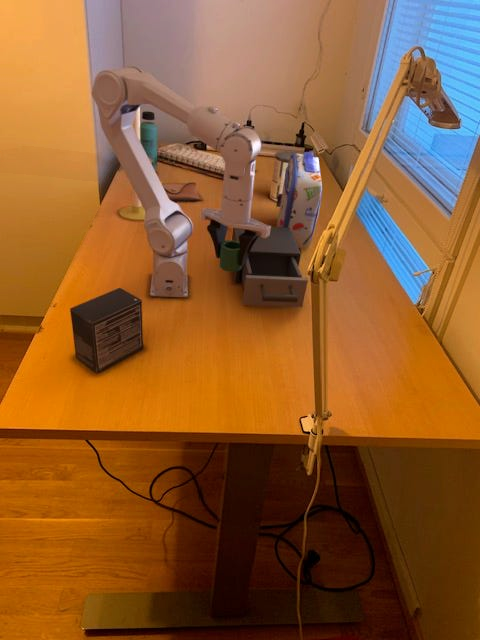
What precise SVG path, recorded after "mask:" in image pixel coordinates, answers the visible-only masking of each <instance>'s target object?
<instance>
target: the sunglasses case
mask: <svg viewBox="0 0 480 640" xmlns="http://www.w3.org/2000/svg"><path fill="white" fill-rule="evenodd" d="M161 184H162V186H163V188H164V190H165V192H166V194H167V196H168V198H169V200H171V201H173V202H175V203H185V202H186V203H187V202H198V201H202V200H203V199H202V198H201V197H200V194H199V190H198V187H197V182H194V181H191V182H161Z"/></svg>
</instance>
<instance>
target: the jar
mask: <svg viewBox="0 0 480 640" xmlns="http://www.w3.org/2000/svg"><path fill="white" fill-rule="evenodd" d="M239 255H240V243H239V242H238V241H234V240H232V239H229V240H225V241H224V242H222V243H221V249H220V258H219V262H218V263H219V264H218V265H219V268H220V269H221V270H223V271H225V272H230V273H233V272H235V271H239V270H241V269H242V266H240V265H239Z"/></svg>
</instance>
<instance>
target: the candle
mask: <svg viewBox="0 0 480 640" xmlns="http://www.w3.org/2000/svg"><path fill="white" fill-rule="evenodd" d="M140 124H141V106H140V107H139V109H138V110H137V112H136V114H135V117H134V121H133V124H132V126H133V129H134V131H135V133H136V135H137V137H138V138H139V140H140ZM148 158H149V157H148ZM149 160H150V162H151V163H152V159H151V158H149ZM131 194H132V195H131V198H132V201H131V202H132V203H131V205H132V206H126V207H122V208H121V209H120V210H119V212H118V215H119V216H120V217H122V218H124V219H125V220H130V221H144V218H145V210H144V208H143V206H142V204H141V202H140V200H139V198H138V196H137V194H136V193H135V191H134V189H133V187H132V186H131Z"/></svg>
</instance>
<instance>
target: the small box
mask: <svg viewBox="0 0 480 640" xmlns="http://www.w3.org/2000/svg"><path fill="white" fill-rule="evenodd" d="M142 303H143V299H141V298H139V297H138V296H136V295H134V294H132V293H131V292H129V291H127V290H125V289H123V288H122V287H118V288H114V289H113V290H110V291H108V292H106V293H103V294H101V295H99V296H96V297H94V298H91V299H89V300H87V301H84V302H81V303H80V304H78V305H75V306H72V307H70V308H69V313H70V320H71V327H72V328H71V329H72V335H73V336H72V337H73V345H74V352H75V359H77V360H78V361H79V362H80V363H82V364H83V365H84V366H86V367H87V368H89V369H90V370H91V371H92V372H94V373H95V374H99V373H101V372H102V371H105V370H107V369H108V368H110V367H111V366H114V365H116V364H117V363H119V362H121V361H123V360H126V358H129V357H131V356H132V355H134V354H136V353H137V352H140V351H142V350H144V346H145V345H144V334H143V333H144V331H143V330H144V329H143V304H142Z"/></svg>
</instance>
